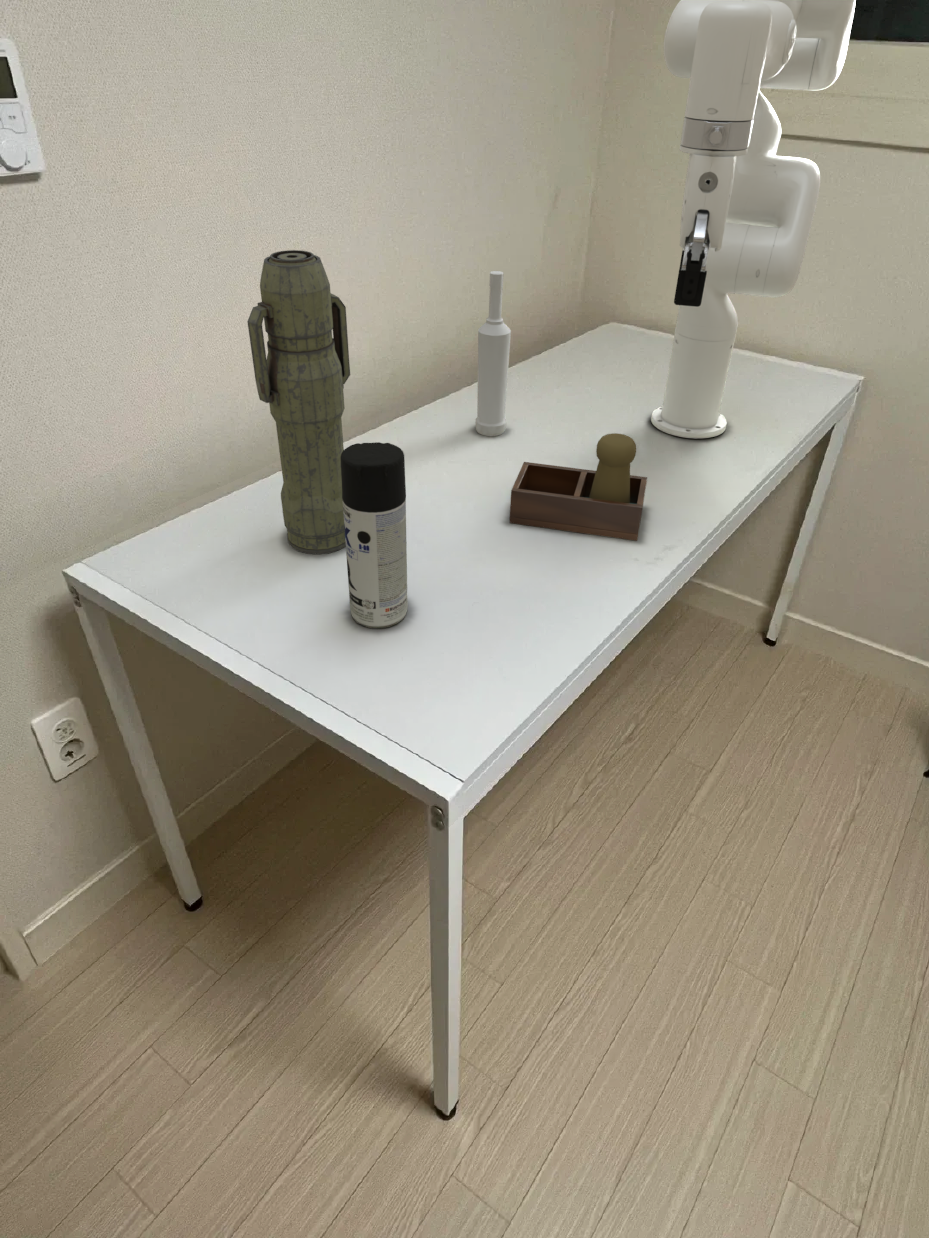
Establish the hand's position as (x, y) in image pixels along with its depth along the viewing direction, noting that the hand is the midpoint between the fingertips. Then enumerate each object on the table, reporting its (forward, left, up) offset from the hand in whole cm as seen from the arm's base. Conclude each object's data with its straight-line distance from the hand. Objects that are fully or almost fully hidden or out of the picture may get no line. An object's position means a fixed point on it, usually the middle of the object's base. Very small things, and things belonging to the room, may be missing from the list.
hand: (688, 294), depth 103 cm
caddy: (+9, -10, -28) cm, 31 cm away
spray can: (+38, -29, -28) cm, 56 cm away
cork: (+9, -6, -27) cm, 29 cm away
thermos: (+24, -42, -28) cm, 56 cm away
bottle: (-16, -28, -28) cm, 43 cm away
